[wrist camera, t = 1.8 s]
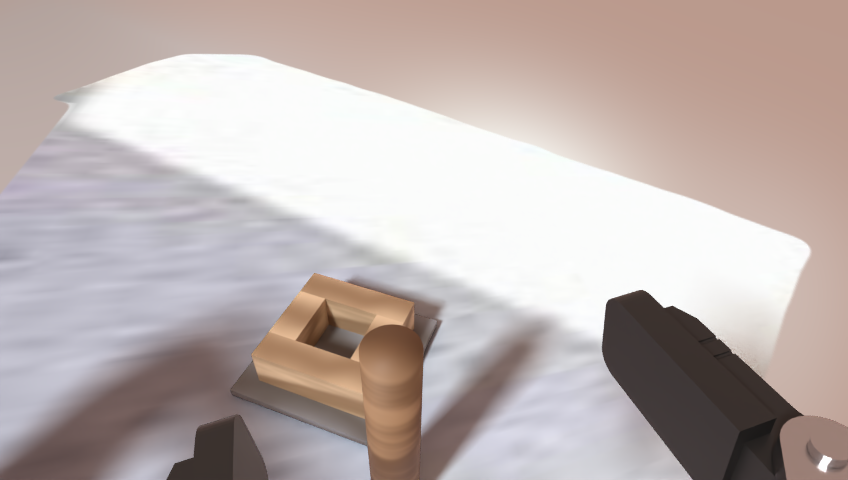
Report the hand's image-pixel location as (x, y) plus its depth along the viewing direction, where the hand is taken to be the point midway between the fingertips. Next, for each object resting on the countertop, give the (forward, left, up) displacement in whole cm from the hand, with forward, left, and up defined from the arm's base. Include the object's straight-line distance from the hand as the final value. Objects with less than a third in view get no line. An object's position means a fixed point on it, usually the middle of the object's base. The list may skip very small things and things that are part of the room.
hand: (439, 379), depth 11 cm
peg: (+12, +7, -37) cm, 39 cm away
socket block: (+23, +18, -37) cm, 47 cm away
